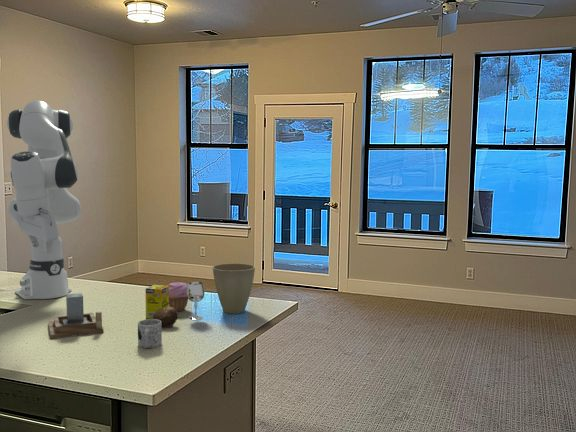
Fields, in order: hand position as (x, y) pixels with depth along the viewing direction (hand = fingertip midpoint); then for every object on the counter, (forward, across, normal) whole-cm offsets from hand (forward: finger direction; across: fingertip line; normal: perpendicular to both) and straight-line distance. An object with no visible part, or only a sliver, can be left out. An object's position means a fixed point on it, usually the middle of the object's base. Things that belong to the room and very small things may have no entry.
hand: (42, 249), depth 174 cm
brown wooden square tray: (+26, -7, -3) cm, 27 cm away
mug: (+25, -38, -10) cm, 47 cm away
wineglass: (+31, -24, -36) cm, 53 cm away
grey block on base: (+24, -7, -3) cm, 26 cm away
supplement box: (+30, -16, -27) cm, 43 cm away
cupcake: (+32, -11, -38) cm, 51 cm away
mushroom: (+29, -24, -25) cm, 45 cm away
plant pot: (+33, -26, -51) cm, 67 cm away
